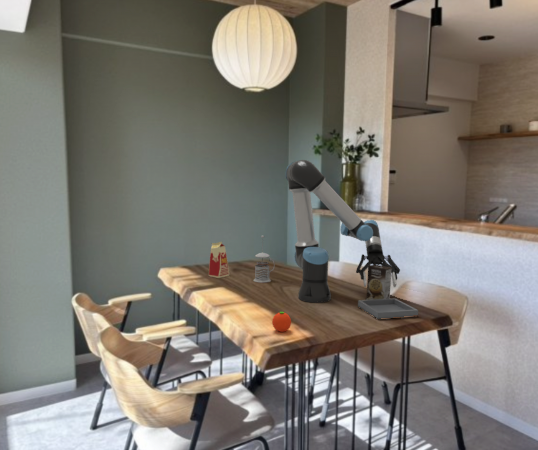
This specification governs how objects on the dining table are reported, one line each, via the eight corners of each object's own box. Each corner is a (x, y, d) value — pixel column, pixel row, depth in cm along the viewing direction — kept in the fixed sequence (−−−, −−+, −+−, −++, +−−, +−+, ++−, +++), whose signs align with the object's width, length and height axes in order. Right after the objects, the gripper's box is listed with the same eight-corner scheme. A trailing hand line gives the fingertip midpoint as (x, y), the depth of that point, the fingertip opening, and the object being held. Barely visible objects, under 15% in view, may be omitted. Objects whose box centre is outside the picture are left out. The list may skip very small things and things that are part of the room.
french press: (253, 278, 242) (254, 233, 240) (274, 278, 242) (275, 234, 239) (252, 282, 233) (253, 236, 230) (274, 282, 232) (274, 236, 230)
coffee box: (365, 300, 201) (367, 265, 199) (372, 297, 206) (373, 264, 204) (384, 304, 195) (385, 268, 193) (390, 301, 200) (392, 266, 198)
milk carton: (229, 275, 249) (229, 240, 247) (219, 278, 241) (219, 242, 239) (217, 273, 254) (217, 239, 251) (206, 276, 246) (206, 241, 244)
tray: (377, 320, 172) (378, 312, 172) (357, 307, 189) (358, 300, 189) (417, 317, 176) (418, 310, 176) (394, 304, 194) (395, 298, 193)
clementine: (271, 327, 162) (271, 308, 161) (289, 327, 162) (290, 308, 162) (272, 334, 154) (273, 315, 153) (292, 334, 154) (292, 315, 154)
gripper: (397, 252, 214) (405, 290, 201) (347, 251, 214) (351, 289, 201) (401, 243, 208) (409, 281, 195) (349, 242, 209) (354, 280, 195)
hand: (380, 285), depth 198 cm, fingers open, 13 cm apart
